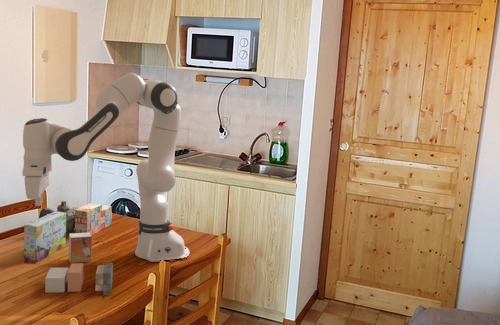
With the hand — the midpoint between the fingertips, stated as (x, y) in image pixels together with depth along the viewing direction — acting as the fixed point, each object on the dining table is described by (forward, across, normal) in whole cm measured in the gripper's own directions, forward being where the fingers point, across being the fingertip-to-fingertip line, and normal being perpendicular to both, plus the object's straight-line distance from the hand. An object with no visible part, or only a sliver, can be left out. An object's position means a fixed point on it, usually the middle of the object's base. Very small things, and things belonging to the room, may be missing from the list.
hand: (39, 204), depth 180 cm
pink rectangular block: (+26, +11, +13) cm, 31 cm away
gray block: (+26, +11, +7) cm, 29 cm away
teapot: (+28, -49, 0) cm, 56 cm away
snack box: (+27, -23, -3) cm, 36 cm away
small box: (+28, -16, +11) cm, 34 cm away
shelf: (+27, +11, +12) cm, 32 cm away
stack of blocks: (+28, -54, +13) cm, 62 cm away
